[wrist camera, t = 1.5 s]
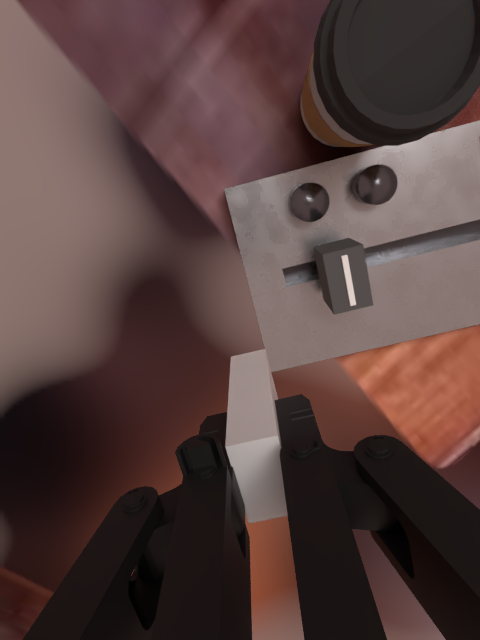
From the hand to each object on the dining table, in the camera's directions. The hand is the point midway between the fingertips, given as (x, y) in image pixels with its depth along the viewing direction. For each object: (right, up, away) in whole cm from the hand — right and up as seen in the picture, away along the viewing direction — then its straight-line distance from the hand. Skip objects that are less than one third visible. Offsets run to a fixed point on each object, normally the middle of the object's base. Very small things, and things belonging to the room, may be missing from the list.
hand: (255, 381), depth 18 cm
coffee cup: (+7, +20, +15) cm, 26 cm away
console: (+14, +9, +18) cm, 24 cm away
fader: (+7, +8, +19) cm, 21 cm away
